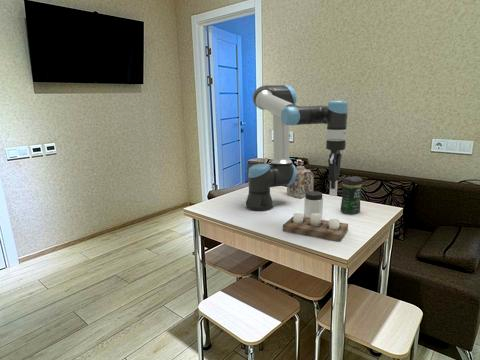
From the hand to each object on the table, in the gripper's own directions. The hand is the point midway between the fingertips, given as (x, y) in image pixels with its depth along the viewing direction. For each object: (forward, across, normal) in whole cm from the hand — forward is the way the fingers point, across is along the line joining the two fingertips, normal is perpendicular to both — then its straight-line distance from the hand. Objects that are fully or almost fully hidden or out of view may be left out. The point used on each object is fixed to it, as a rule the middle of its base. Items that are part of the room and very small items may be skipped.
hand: (333, 195), depth 134 cm
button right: (+16, -1, -1) cm, 16 cm away
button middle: (+14, -1, +7) cm, 16 cm away
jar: (+17, +17, +13) cm, 27 cm away
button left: (+16, -1, +15) cm, 22 cm away
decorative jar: (+18, +50, +32) cm, 63 cm away
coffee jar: (+17, +32, -2) cm, 36 cm away
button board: (+17, -1, +7) cm, 18 cm away
